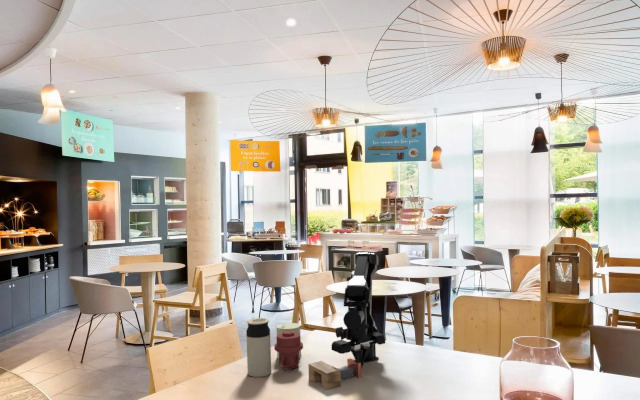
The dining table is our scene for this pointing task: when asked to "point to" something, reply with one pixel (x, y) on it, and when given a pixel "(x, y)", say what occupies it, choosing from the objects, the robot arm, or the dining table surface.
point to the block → (324, 374)
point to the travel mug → (258, 347)
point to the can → (288, 327)
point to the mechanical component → (288, 349)
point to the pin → (350, 369)
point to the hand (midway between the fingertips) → (359, 368)
